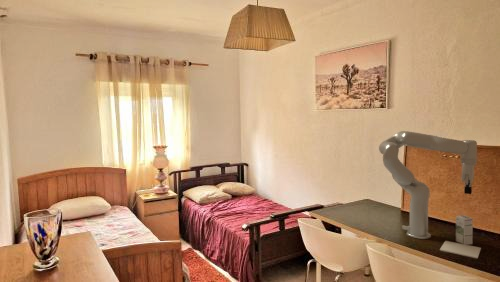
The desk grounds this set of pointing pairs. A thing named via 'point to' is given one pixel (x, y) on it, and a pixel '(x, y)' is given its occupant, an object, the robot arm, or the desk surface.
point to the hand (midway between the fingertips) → (467, 193)
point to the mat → (461, 249)
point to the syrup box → (464, 229)
